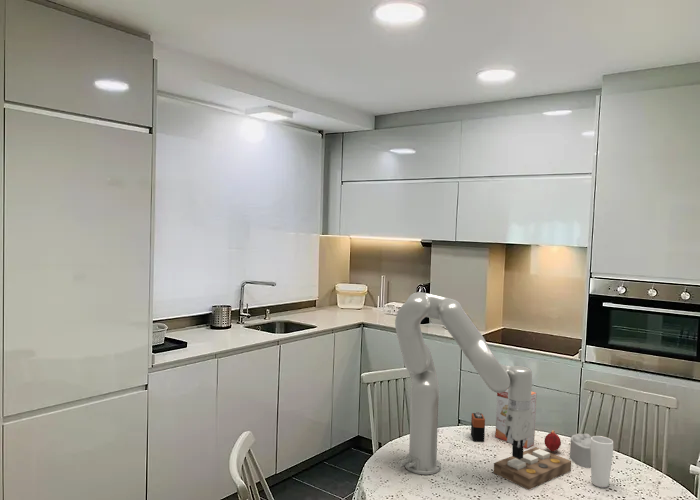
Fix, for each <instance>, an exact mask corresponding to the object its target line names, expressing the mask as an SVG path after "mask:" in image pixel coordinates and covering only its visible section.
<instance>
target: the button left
mask: <svg viewBox="0 0 700 500" xmlns="http://www.w3.org/2000/svg"><path fill="white" fill-rule="evenodd" d="M508 466H510V467H513V468H515V469H517V470H520V469H522V468H525V467H526V463H525V462H523V461H521V460H518V459H516V458H515V459H512V460H509V461H508Z"/></svg>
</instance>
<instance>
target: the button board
mask: <svg viewBox="0 0 700 500" xmlns="http://www.w3.org/2000/svg"><path fill="white" fill-rule="evenodd" d="M538 449H541V450H544V449H542V448H539V447H537V446H536V447H535V446H534V447H532V448H530V449H528V450H525V451H524V450H523V455H525V454H530V455H532V453H533V451H535V450H538ZM544 451H546V452H549V453H550V457H549V458H547V459H544V460H542V459H540V458H538V462H537V463H534V464H532V465H530V464H528V463H526V462H525V463H526V467H525V468H522V469H520V470H517V469H515V468H513V467H510V466H508V461H509V460H512V459H515V457H513V456H512V455H511V456H509V457H506V458H504V459H500V460H498V461H495V462H493V474H495V475H497V476H499V477H501V478H503V479H505V480H507V481H510V482H512V483H514V484H515V485H518V486H520V487H522V488H525V489H526V490H529V491H530V490H532V489H534V488H536V487H539V486H541V485H543V484H546V483H547V482H549V481H552V480H553V479H556V478H558V477H561V476H562V475H564V474H568V473H570V472H571V471H572V460H571V459H567V458H565V457H563V456H559V455H557V454H554V453H553V452H551V451H547V450H544ZM516 459H518V458H516ZM518 460H520V459H518Z"/></svg>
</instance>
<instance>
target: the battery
mask: <svg viewBox="0 0 700 500" xmlns="http://www.w3.org/2000/svg"><path fill="white" fill-rule="evenodd" d="M470 420H471V423H470V424H471V425H470V436H471V439H472V441H473V442H480V443H483V442H485V434H486V432H485V430H486V418H485V416H484V414H483V413H480V411H476V412H472V413H471V419H470Z"/></svg>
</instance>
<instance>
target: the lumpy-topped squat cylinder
mask: <svg viewBox="0 0 700 500" xmlns="http://www.w3.org/2000/svg"><path fill="white" fill-rule="evenodd" d="M591 437H592V436H591V435H590V434H589V433H576V434H572V436H571V437H570V446H569V447H570V448H569V449H570V450H569V459H570V461H571V462H573V463H575V464H576V465H577V466H578V467H581V468H586V469H591V454H590V446H591Z"/></svg>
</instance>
